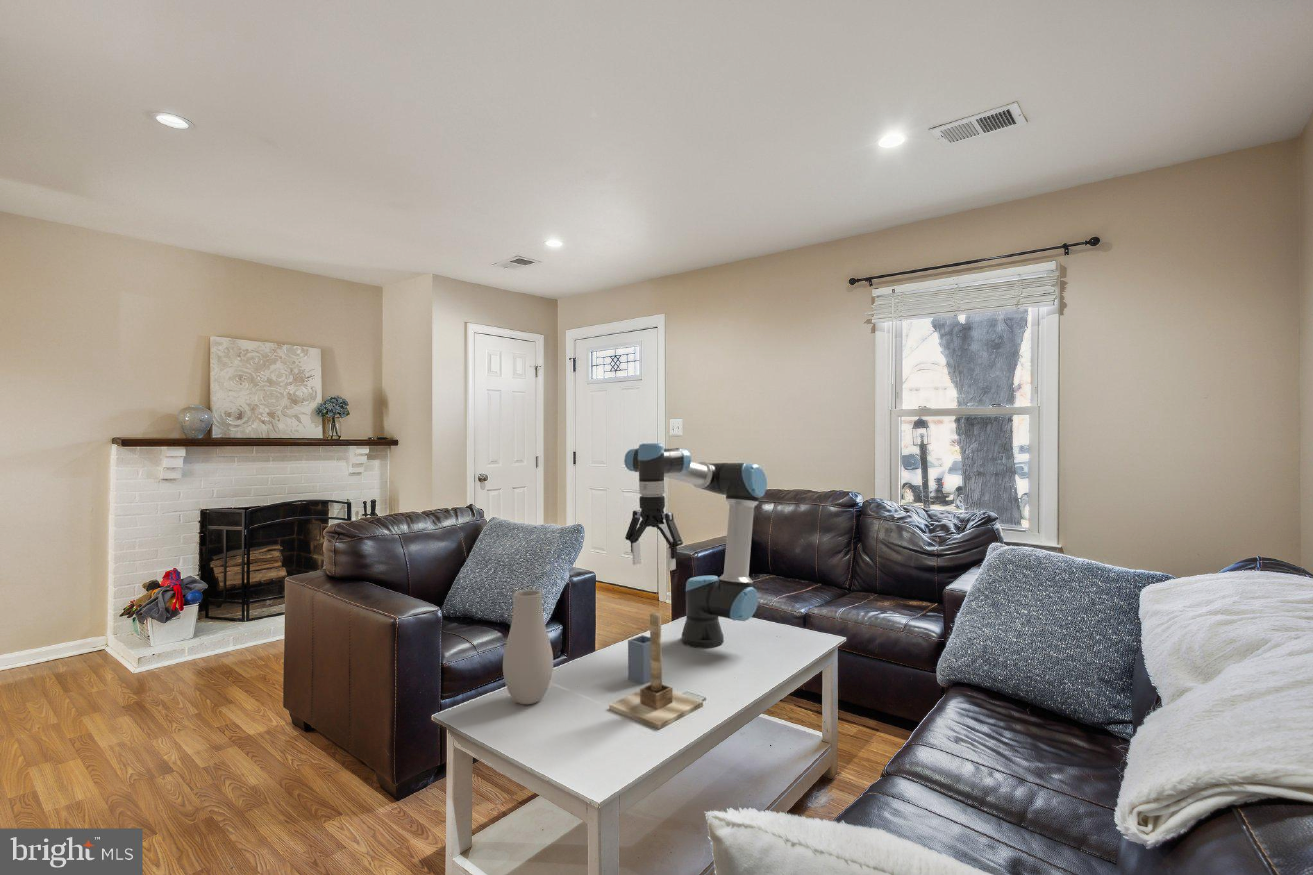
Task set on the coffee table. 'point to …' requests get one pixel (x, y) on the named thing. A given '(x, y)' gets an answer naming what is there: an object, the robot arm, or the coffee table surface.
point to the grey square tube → (639, 659)
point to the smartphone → (695, 696)
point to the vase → (527, 650)
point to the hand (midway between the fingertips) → (653, 566)
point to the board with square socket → (656, 706)
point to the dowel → (655, 652)
